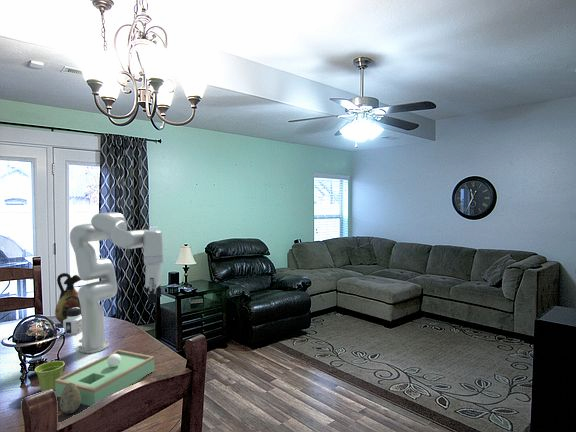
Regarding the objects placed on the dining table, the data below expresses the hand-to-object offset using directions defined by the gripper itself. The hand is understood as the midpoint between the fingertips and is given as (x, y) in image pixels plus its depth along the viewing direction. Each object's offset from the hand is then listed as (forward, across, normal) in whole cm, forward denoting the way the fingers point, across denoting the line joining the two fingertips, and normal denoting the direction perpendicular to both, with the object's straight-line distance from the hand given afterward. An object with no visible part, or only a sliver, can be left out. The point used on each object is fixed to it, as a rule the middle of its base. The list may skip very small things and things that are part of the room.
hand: (155, 299), depth 151 cm
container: (+28, -52, -53) cm, 79 cm away
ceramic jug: (+28, -67, -62) cm, 95 cm away
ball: (+21, +9, -14) cm, 27 cm away
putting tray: (+28, +12, -16) cm, 35 cm away
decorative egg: (+28, +30, -22) cm, 47 cm away
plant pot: (+28, +12, -36) cm, 48 cm away
